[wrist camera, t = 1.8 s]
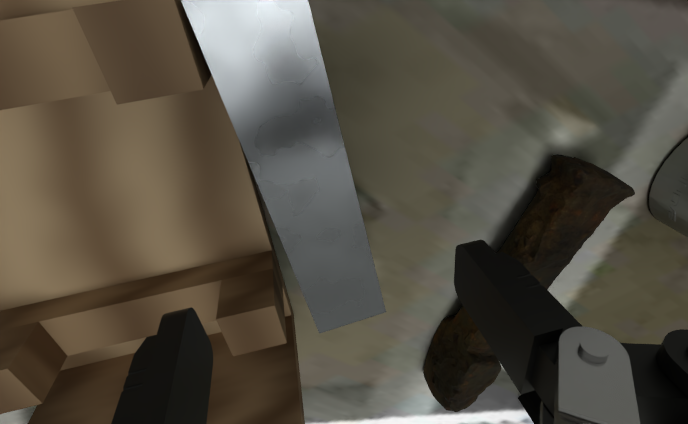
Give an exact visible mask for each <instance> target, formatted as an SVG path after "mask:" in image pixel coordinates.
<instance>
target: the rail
mask: <svg viewBox="0 0 688 424" xmlns="http://www.w3.org/2000/svg"><path fill="white" fill-rule="evenodd" d="M181 2H182V4H183V6H184V9H185V11H186V14H187V16H188V18H189V21H190V23H191V26H192V28H193V30H194V33H195V35H196V38H197V40H198V42H199V45H200V47H201V50H202V52H203V55H204V57H205V59H206V62H207V64H208V67H209V69H210V71H211V74H212V76H213V79H214V81H215V83H216V86H217V88H218V91H219V93H220V95H221V98H222V100H223V103H224V105H225V107H226V110H227V112H228V115H229V117H230V119H231V122H232V124H233V127H234V129H235V131H236V134H237V136H238V139H239V141H240V143H241V146H242V148H243V151H244V153H245V155H246V158H247V160H248V163H249V165H250V168H251V170H252V172H253V175H254V177H255V180H256V182H257V184H258V187H259V189H260V192H261V194H262V196H263V199H264V201H265V204H266V206H267V208H268V211H269V213H270V216H271V218H272V220H273V223H274V225H275V228H276V230H277V232H278V235H279V237H280V240H281V242H282V244H283V247H284V249H285V252H286V254H287V256H288V259H289V261H290V264H291V266H292V268H293V271H294V273H295V276H296V278H297V281H298V283H299V285H300V288H301V290H302V293H303V295H304V297H305V300H306V302H307V305H308V307H309V309H310V312H311V314H312V317H313V319H314V321H315V324H316V326H317V329H318V331H319V333H322V332H325V331H328V330H332V329H335V328H338V327H341V326H344V325H347V324H350V323H353V322H356V321H360V320H363V319H366V318H369V317H372V316H375V315H378V314H381V313H384V312H386V310H385V306H384V302H383V298H382V294H381V290H380V286H379V282H378V278H377V274H376V270H375V266H374V262H373V258H372V254H371V250H370V246H369V242H368V238H367V234H366V230H365V226H364V222H363V218H362V214H361V210H360V206H359V202H358V198H357V194H356V190H355V186H354V182H353V178H352V174H351V170H350V166H349V162H348V158H347V154H346V150H345V146H344V142H343V138H342V134H341V130H340V126H339V122H338V118H337V114H336V110H335V106H334V102H333V98H332V94H331V90H330V86H329V82H328V78H327V74H326V70H325V66H324V62H323V58H322V54H321V50H320V46H319V42H318V38H317V34H316V30H315V26H314V22H313V18H312V14H311V10H310V6H309V2H308V0H181Z"/></svg>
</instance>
